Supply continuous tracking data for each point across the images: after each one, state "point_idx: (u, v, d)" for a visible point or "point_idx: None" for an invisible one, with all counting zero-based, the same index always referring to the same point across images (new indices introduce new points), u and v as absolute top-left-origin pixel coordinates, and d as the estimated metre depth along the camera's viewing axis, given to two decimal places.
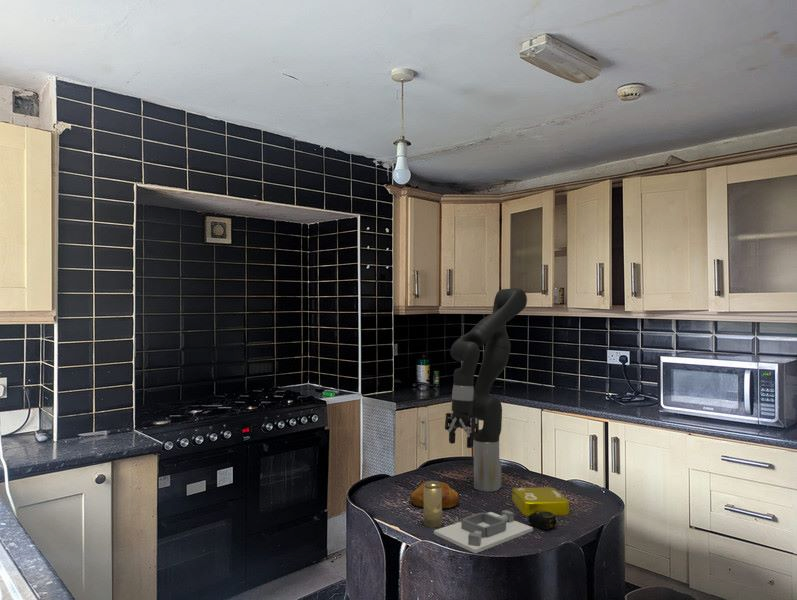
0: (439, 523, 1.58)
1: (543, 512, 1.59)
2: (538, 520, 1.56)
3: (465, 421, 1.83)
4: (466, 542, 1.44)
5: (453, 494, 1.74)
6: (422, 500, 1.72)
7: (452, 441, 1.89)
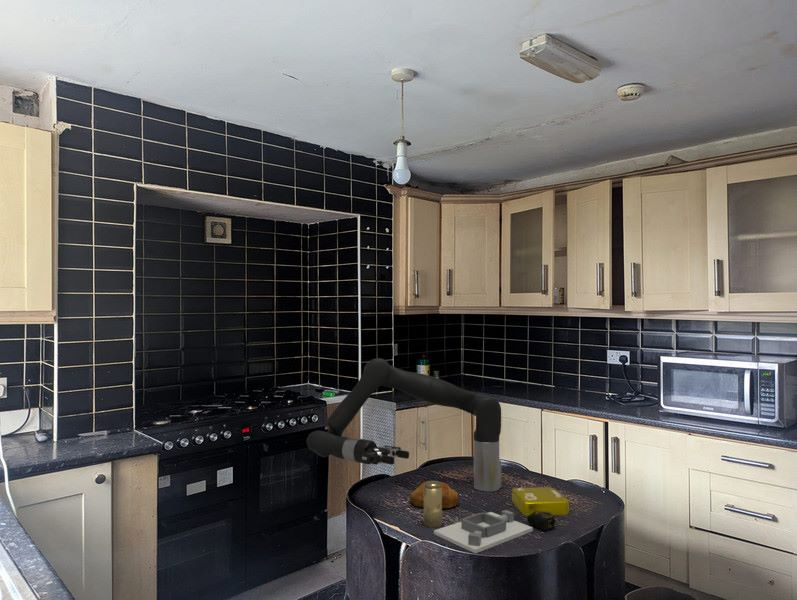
0: (439, 523, 1.58)
1: (542, 513, 1.59)
2: (537, 520, 1.55)
3: None
4: (466, 542, 1.44)
5: (453, 494, 1.74)
6: (422, 500, 1.72)
7: (405, 455, 1.70)
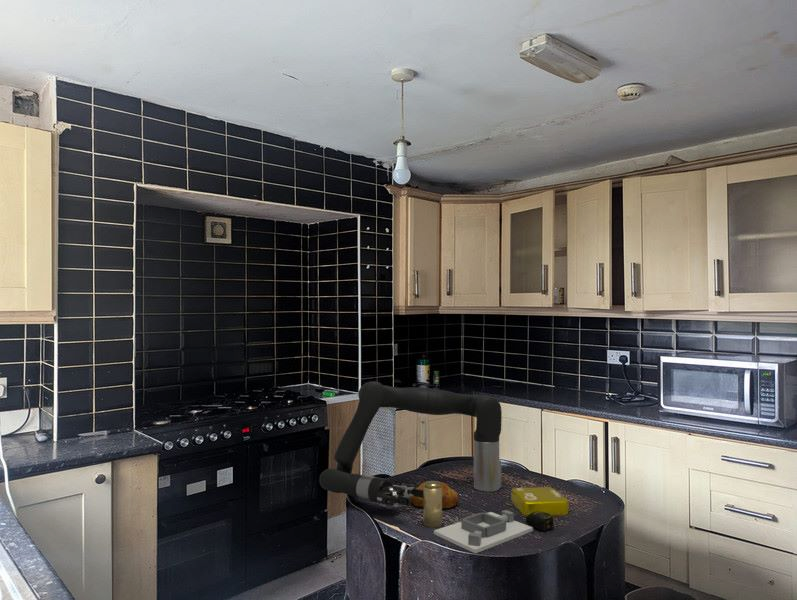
0: (439, 523, 1.58)
1: (540, 513, 1.59)
2: (535, 520, 1.55)
3: None
4: (466, 542, 1.44)
5: (452, 494, 1.74)
6: (421, 500, 1.72)
7: (421, 494, 1.67)
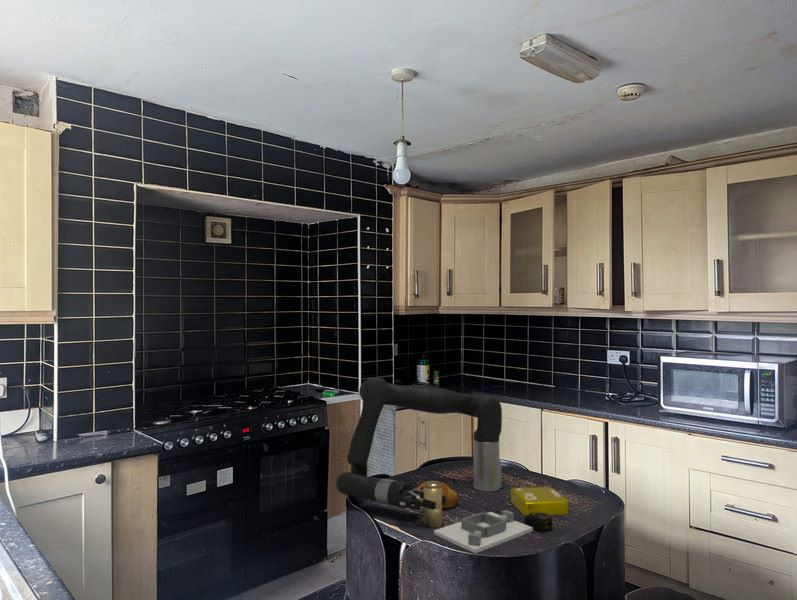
0: (439, 523, 1.58)
1: (539, 514, 1.58)
2: (534, 521, 1.55)
3: None
4: (466, 542, 1.44)
5: (452, 494, 1.74)
6: None
7: (442, 500, 1.61)
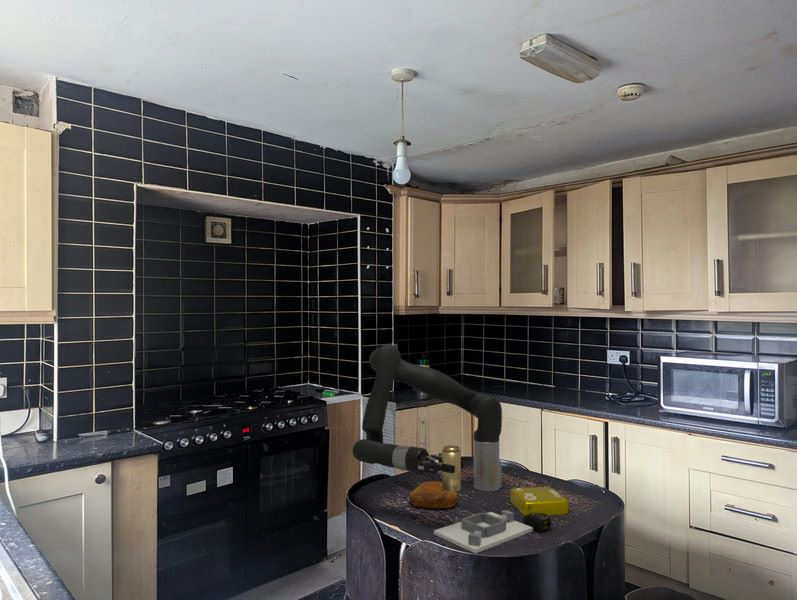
0: (458, 487, 1.56)
1: (538, 514, 1.58)
2: (533, 521, 1.54)
3: None
4: (466, 542, 1.44)
5: (452, 494, 1.74)
6: (420, 500, 1.72)
7: (461, 465, 1.59)
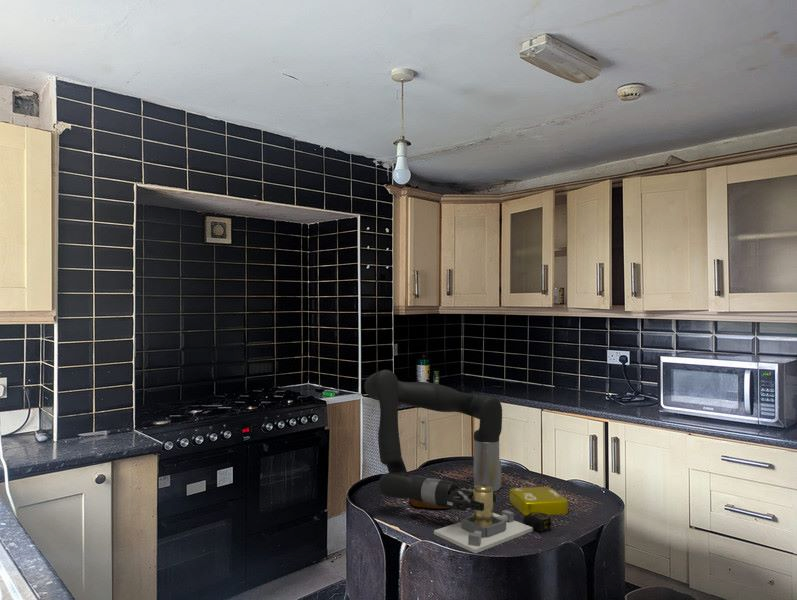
0: None
1: (538, 514, 1.58)
2: (533, 521, 1.54)
3: None
4: (466, 542, 1.44)
5: None
6: None
7: None
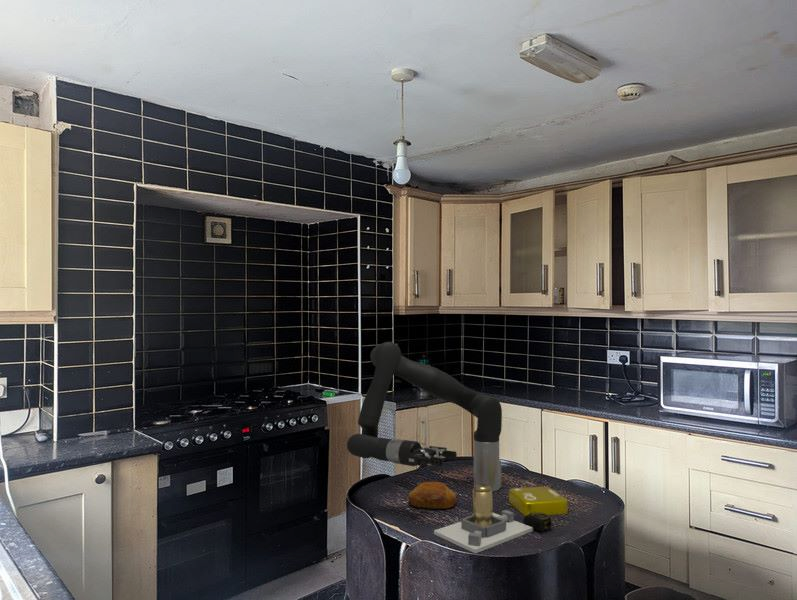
0: None
1: (538, 514, 1.58)
2: (533, 521, 1.54)
3: None
4: (466, 542, 1.44)
5: (450, 494, 1.73)
6: (419, 500, 1.72)
7: (453, 456, 1.63)
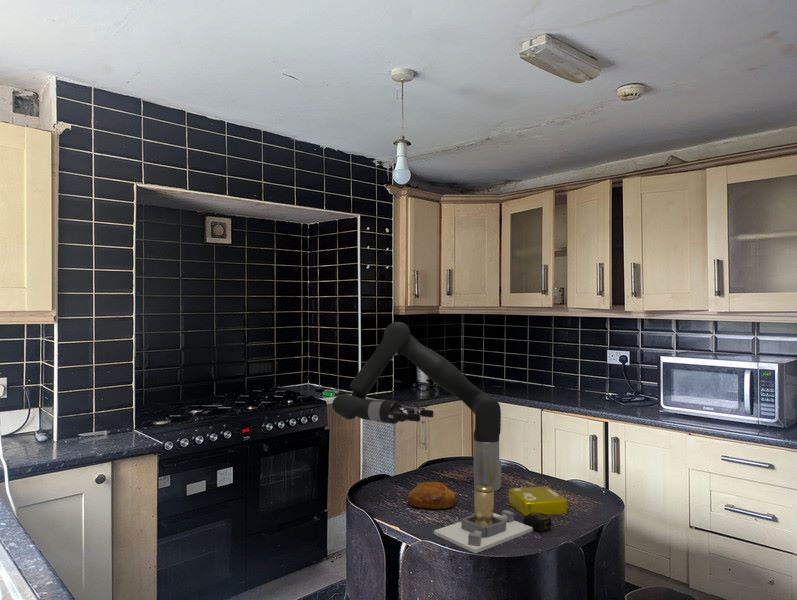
0: None
1: (538, 514, 1.58)
2: (533, 521, 1.54)
3: (398, 418, 1.74)
4: (466, 542, 1.44)
5: (450, 495, 1.73)
6: (418, 500, 1.72)
7: (430, 414, 1.75)
